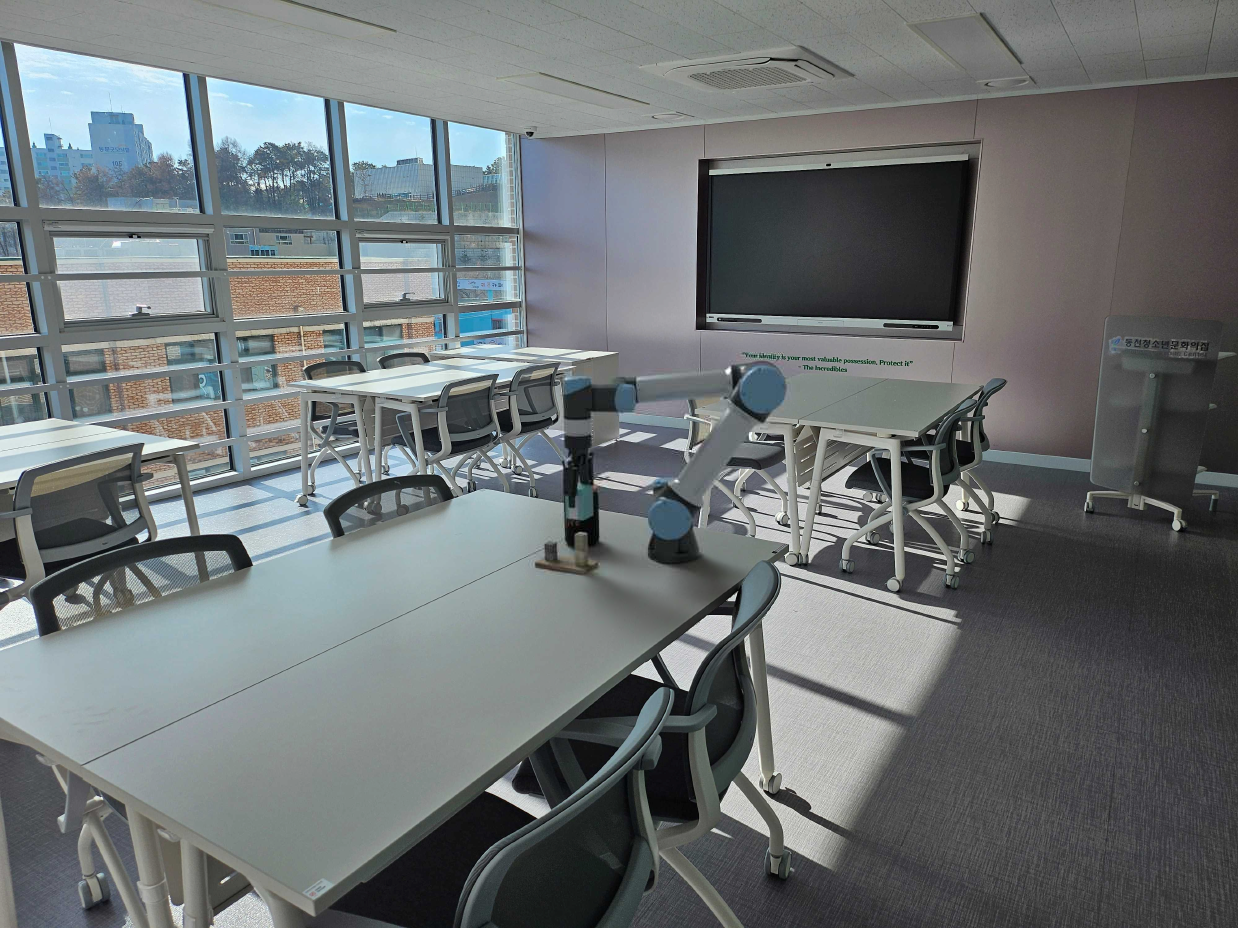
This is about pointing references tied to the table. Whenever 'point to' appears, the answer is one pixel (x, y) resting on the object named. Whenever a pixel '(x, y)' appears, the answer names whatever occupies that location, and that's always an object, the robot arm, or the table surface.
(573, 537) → the coffee jar
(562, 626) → the table surface
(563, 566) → the stand
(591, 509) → the teal rectangular block
